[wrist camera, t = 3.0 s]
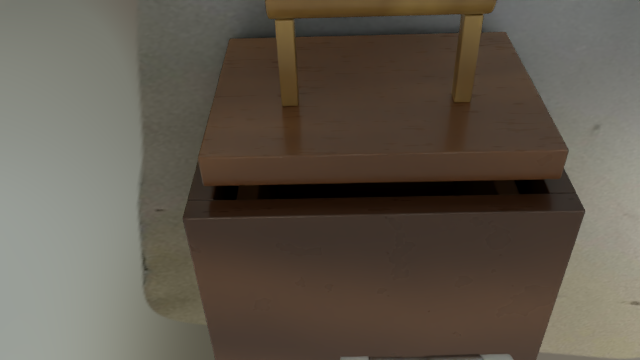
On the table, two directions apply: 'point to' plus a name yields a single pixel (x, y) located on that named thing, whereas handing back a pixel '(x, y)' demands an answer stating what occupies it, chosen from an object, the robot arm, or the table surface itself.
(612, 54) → the table surface
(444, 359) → the robot arm
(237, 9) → the table surface
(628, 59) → the table surface
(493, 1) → the drawer
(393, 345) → the cabinet
